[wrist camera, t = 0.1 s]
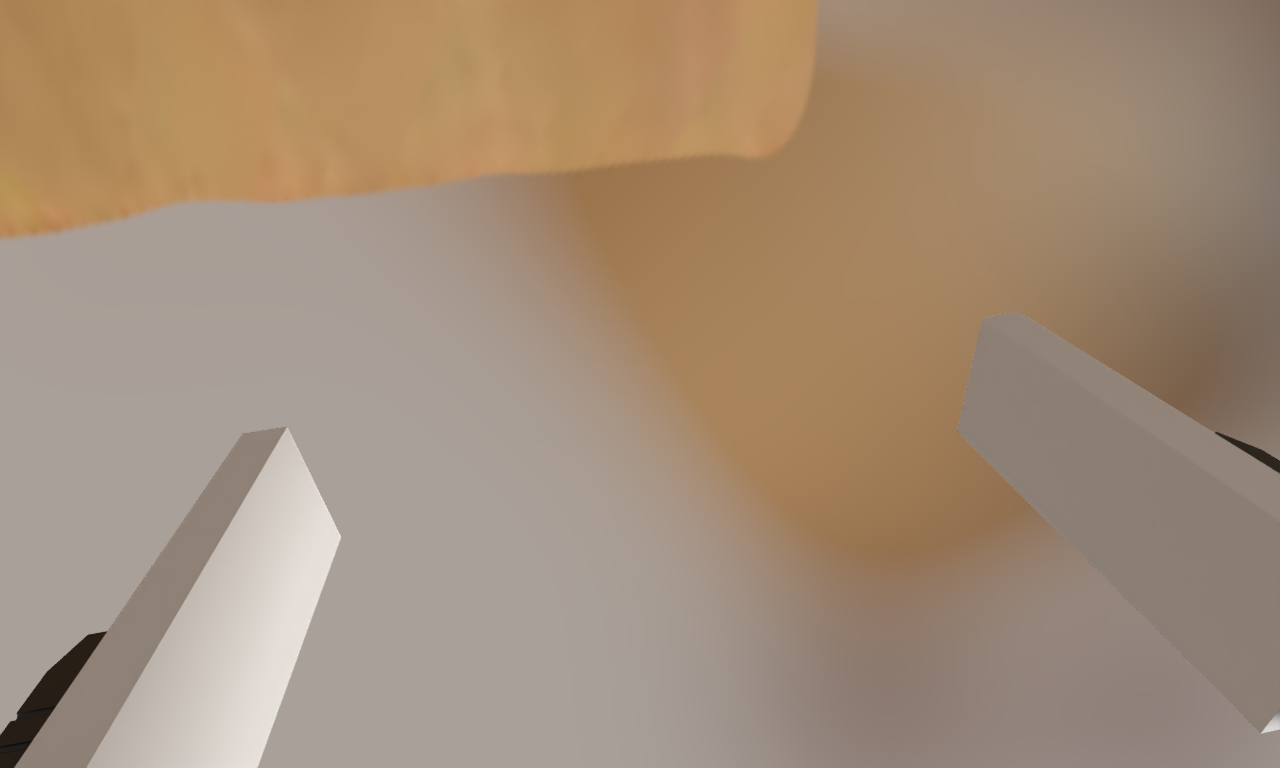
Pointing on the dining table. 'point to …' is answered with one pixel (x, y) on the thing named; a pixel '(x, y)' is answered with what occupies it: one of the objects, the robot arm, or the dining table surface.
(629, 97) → the dining table surface
